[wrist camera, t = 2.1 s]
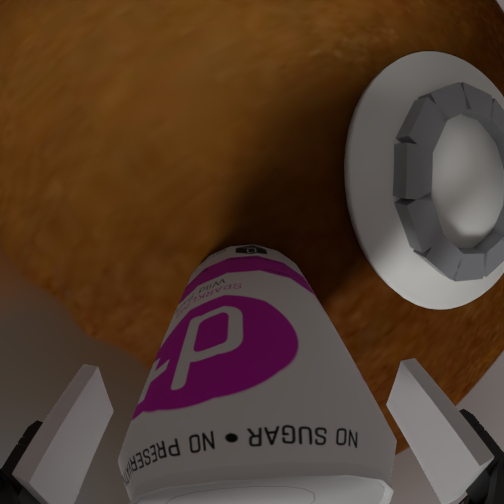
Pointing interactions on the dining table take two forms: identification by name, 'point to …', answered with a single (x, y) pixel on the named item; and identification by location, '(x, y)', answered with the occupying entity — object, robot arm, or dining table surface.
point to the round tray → (449, 178)
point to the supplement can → (255, 398)
